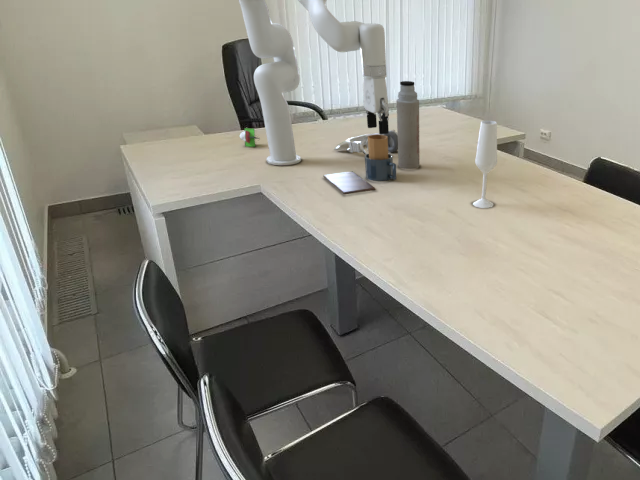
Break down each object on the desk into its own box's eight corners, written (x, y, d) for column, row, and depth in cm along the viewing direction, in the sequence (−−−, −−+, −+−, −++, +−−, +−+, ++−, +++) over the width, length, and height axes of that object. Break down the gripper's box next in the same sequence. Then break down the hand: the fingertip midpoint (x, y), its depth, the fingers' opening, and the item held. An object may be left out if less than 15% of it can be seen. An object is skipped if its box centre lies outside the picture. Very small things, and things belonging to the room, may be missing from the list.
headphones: (410, 148, 217) (371, 146, 228) (408, 128, 213) (368, 126, 224) (374, 160, 203) (334, 157, 214) (371, 138, 199) (330, 136, 210)
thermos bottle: (421, 165, 202) (421, 80, 184) (416, 171, 196) (415, 84, 178) (401, 163, 203) (399, 79, 186) (395, 169, 197) (393, 82, 179)
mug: (360, 178, 188) (358, 155, 183) (380, 172, 194) (379, 150, 189) (386, 186, 181) (385, 163, 177) (405, 180, 187) (405, 158, 182)
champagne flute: (478, 209, 167) (483, 125, 152) (469, 202, 172) (473, 120, 157) (497, 206, 170) (504, 124, 154) (487, 199, 174) (493, 119, 159)
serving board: (323, 178, 186) (323, 175, 186) (352, 174, 191) (352, 171, 190) (344, 196, 173) (343, 192, 172) (375, 191, 178) (374, 187, 177)
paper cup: (367, 175, 189) (364, 135, 181) (384, 173, 191) (382, 133, 183) (374, 180, 184) (372, 140, 176) (392, 178, 187) (390, 138, 179)
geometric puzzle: (247, 136, 219) (239, 122, 211) (263, 137, 218) (255, 123, 211) (244, 151, 217) (235, 137, 210) (260, 152, 217) (251, 138, 209)
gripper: (353, 68, 172) (357, 126, 183) (374, 76, 160) (378, 137, 171) (374, 67, 175) (377, 124, 186) (396, 74, 163) (399, 135, 174)
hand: (378, 130), depth 178 cm, fingers open, 9 cm apart
